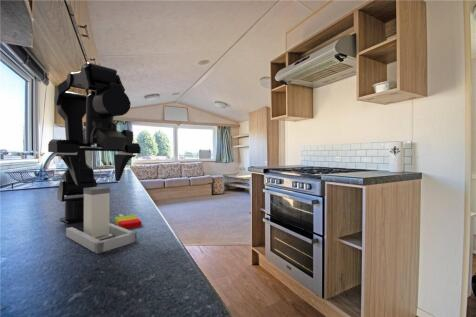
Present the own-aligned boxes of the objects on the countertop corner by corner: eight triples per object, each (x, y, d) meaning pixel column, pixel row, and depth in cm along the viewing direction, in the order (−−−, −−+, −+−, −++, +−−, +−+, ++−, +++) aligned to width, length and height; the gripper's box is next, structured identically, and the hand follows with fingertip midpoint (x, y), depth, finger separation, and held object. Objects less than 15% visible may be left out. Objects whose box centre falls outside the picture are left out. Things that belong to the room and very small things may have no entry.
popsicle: (120, 231, 61) (120, 224, 61) (110, 218, 73) (110, 212, 73) (142, 228, 65) (142, 221, 65) (129, 216, 77) (129, 210, 76)
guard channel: (66, 236, 56) (66, 228, 56) (103, 227, 63) (103, 220, 63) (97, 253, 47) (97, 243, 47) (136, 241, 54) (136, 232, 53)
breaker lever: (83, 235, 55) (83, 188, 55) (101, 230, 59) (101, 186, 59) (91, 238, 53) (91, 189, 53) (109, 234, 56) (109, 187, 56)
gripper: (68, 110, 44) (67, 192, 45) (154, 122, 59) (152, 183, 60) (47, 113, 50) (47, 185, 51) (129, 123, 66) (128, 178, 66)
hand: (98, 182), depth 57 cm, fingers open, 9 cm apart
